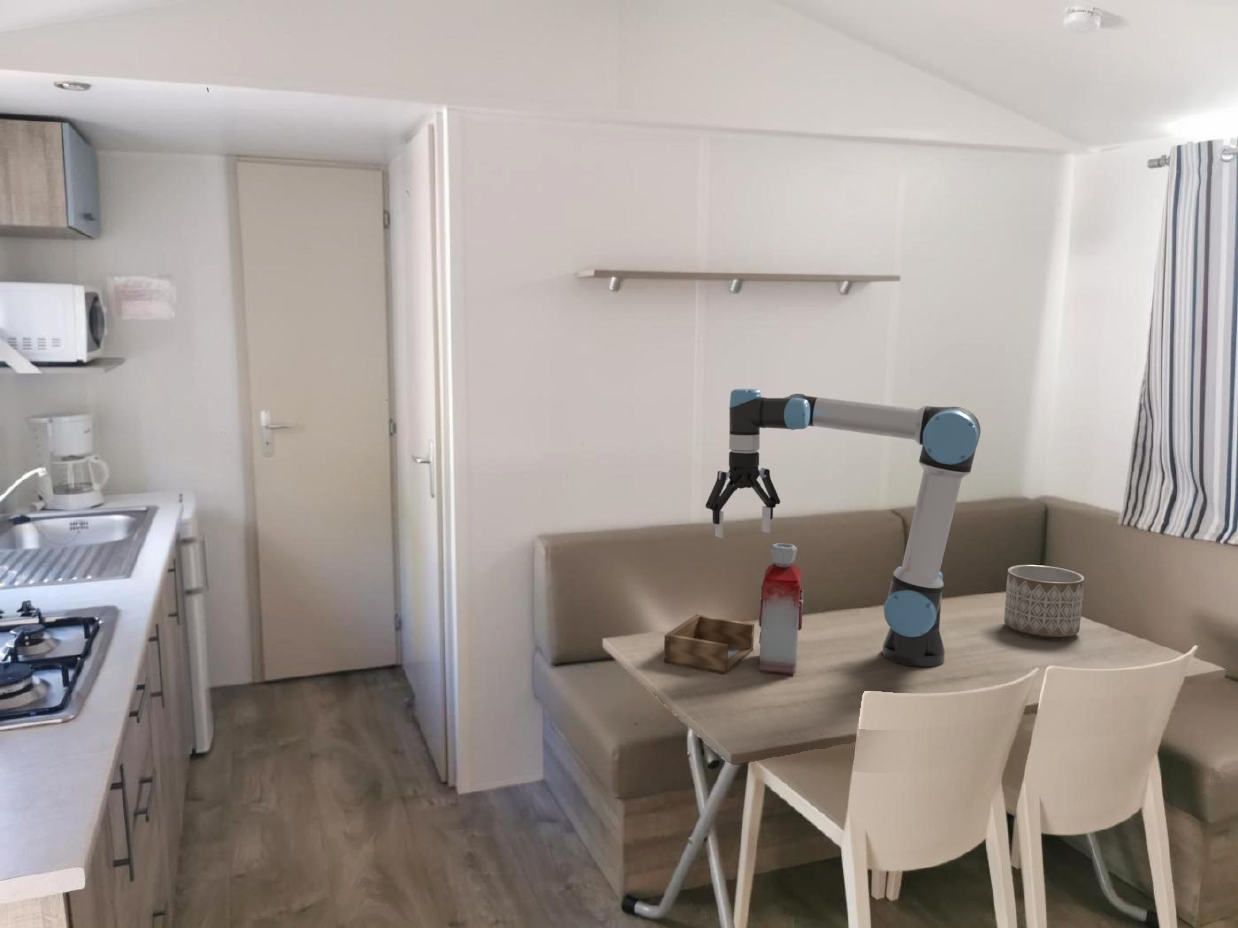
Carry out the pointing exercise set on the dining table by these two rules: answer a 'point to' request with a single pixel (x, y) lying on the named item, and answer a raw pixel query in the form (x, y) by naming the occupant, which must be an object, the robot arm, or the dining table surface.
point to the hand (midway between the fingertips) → (742, 534)
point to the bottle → (780, 612)
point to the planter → (1043, 600)
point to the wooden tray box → (709, 643)
